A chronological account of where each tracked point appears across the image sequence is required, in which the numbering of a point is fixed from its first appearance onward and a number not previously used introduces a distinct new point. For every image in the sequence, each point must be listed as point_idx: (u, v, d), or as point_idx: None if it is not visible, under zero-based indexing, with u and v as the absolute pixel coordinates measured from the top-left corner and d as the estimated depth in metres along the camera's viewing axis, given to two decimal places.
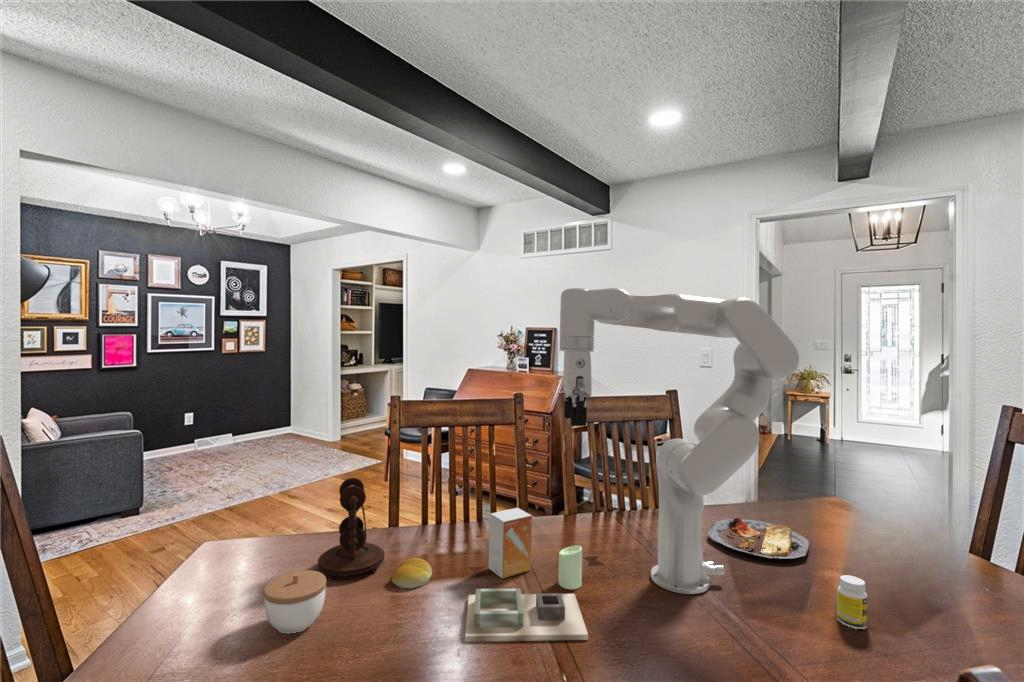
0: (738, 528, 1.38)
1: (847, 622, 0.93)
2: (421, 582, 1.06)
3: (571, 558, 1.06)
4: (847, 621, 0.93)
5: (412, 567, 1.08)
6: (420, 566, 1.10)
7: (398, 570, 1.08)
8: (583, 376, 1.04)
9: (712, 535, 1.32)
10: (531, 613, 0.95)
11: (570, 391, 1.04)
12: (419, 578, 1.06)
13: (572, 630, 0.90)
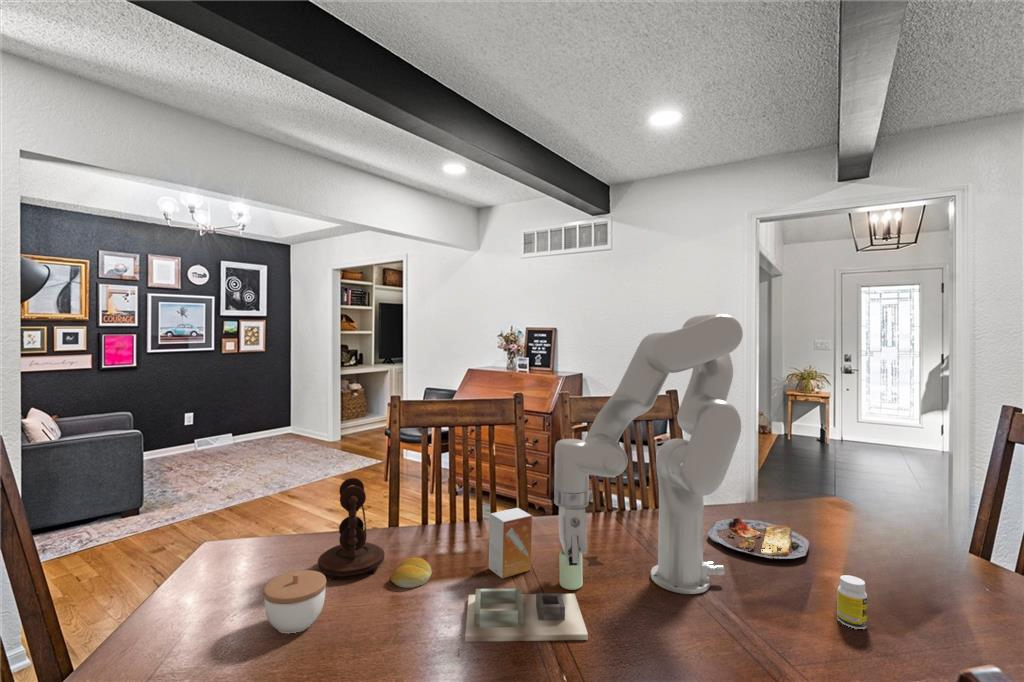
0: (738, 528, 1.38)
1: (847, 622, 0.93)
2: (421, 581, 1.07)
3: None
4: (847, 621, 0.93)
5: (412, 567, 1.08)
6: (420, 566, 1.10)
7: (398, 569, 1.08)
8: (578, 539, 1.04)
9: (712, 535, 1.32)
10: (531, 613, 0.95)
11: (565, 550, 1.04)
12: (418, 577, 1.06)
13: (572, 630, 0.90)
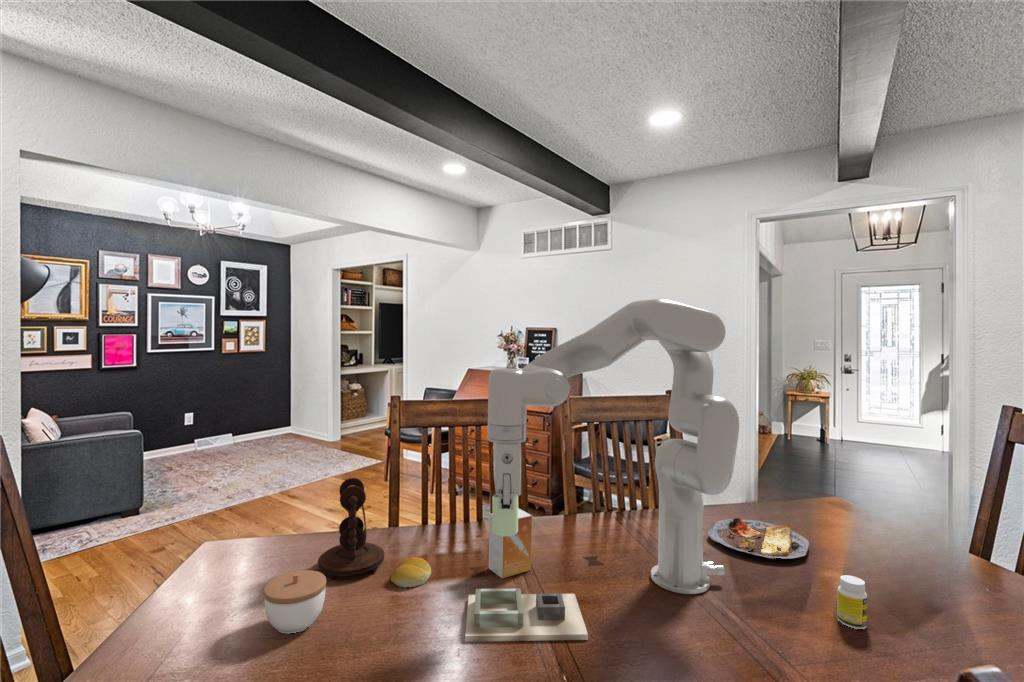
0: (738, 528, 1.38)
1: (847, 622, 0.93)
2: (420, 581, 1.07)
3: None
4: (847, 621, 0.93)
5: (412, 567, 1.08)
6: (419, 565, 1.10)
7: (397, 569, 1.08)
8: (510, 478, 0.91)
9: (712, 535, 1.32)
10: (531, 613, 0.95)
11: (496, 490, 0.91)
12: (418, 577, 1.07)
13: (572, 630, 0.90)
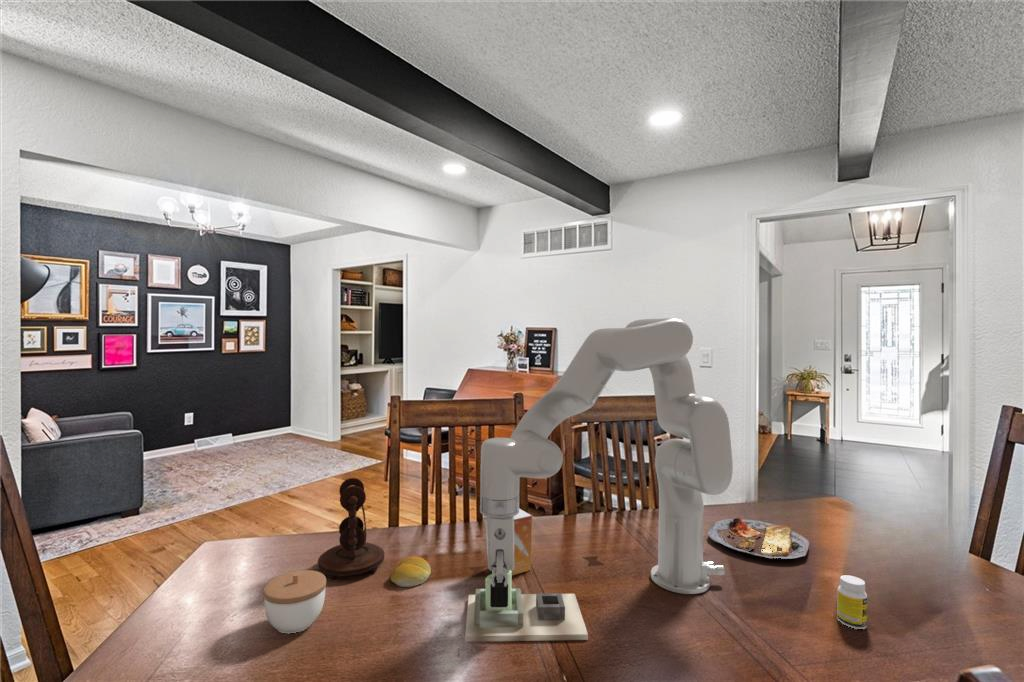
0: (738, 528, 1.38)
1: (847, 622, 0.93)
2: (420, 580, 1.07)
3: None
4: (847, 621, 0.93)
5: (411, 566, 1.09)
6: (419, 565, 1.10)
7: (397, 568, 1.08)
8: (504, 549, 0.90)
9: (712, 535, 1.32)
10: (531, 613, 0.95)
11: (489, 566, 0.90)
12: (417, 576, 1.07)
13: (572, 630, 0.90)
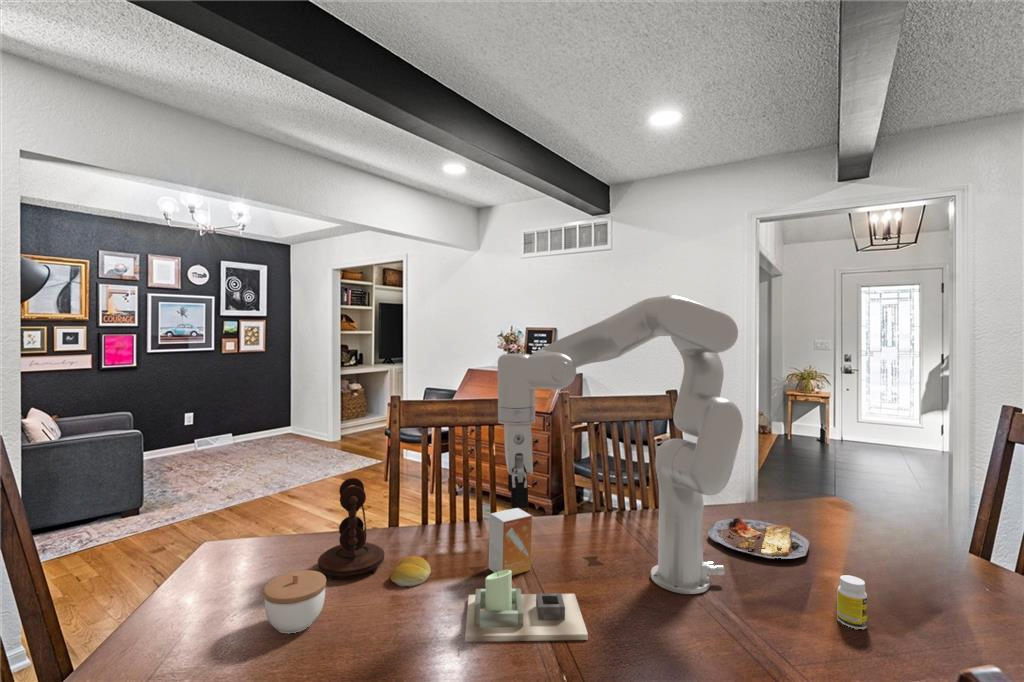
0: (738, 528, 1.38)
1: (847, 622, 0.93)
2: (420, 580, 1.07)
3: (496, 583, 0.92)
4: (847, 621, 0.93)
5: (411, 566, 1.09)
6: (419, 564, 1.11)
7: (397, 568, 1.08)
8: (523, 453, 0.94)
9: (712, 535, 1.32)
10: (531, 613, 0.95)
11: (509, 470, 0.95)
12: (417, 576, 1.07)
13: (572, 630, 0.90)
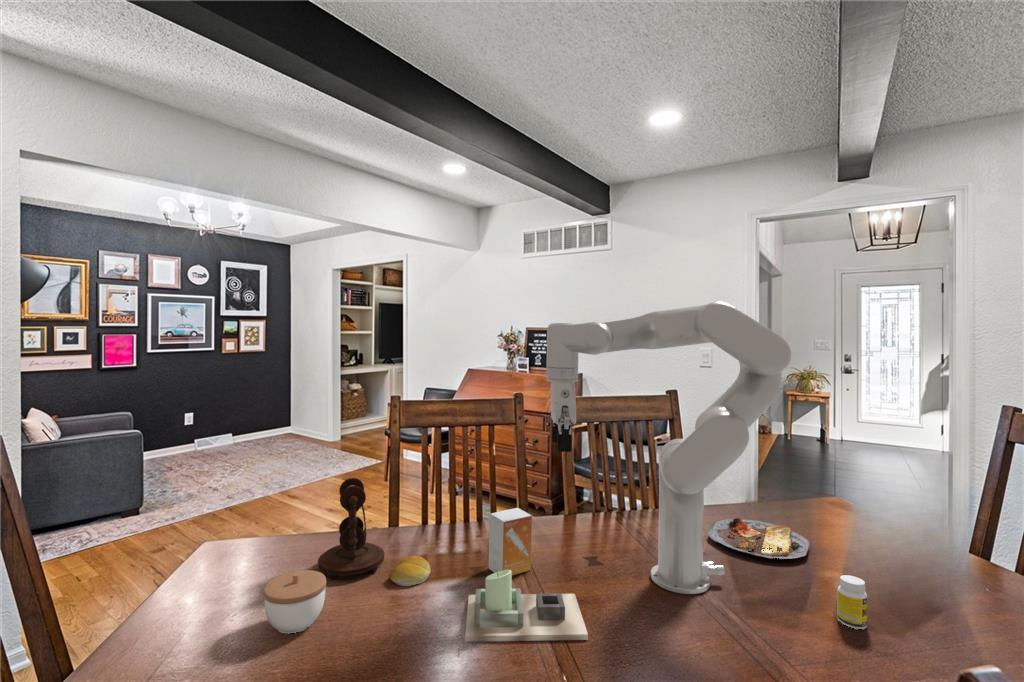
0: (738, 528, 1.38)
1: (847, 622, 0.93)
2: (420, 580, 1.07)
3: (496, 583, 0.92)
4: (847, 621, 0.93)
5: (411, 565, 1.09)
6: (419, 564, 1.11)
7: (397, 568, 1.09)
8: (568, 405, 1.12)
9: (712, 535, 1.32)
10: (531, 613, 0.95)
11: (556, 419, 1.12)
12: (417, 575, 1.07)
13: (572, 630, 0.90)
